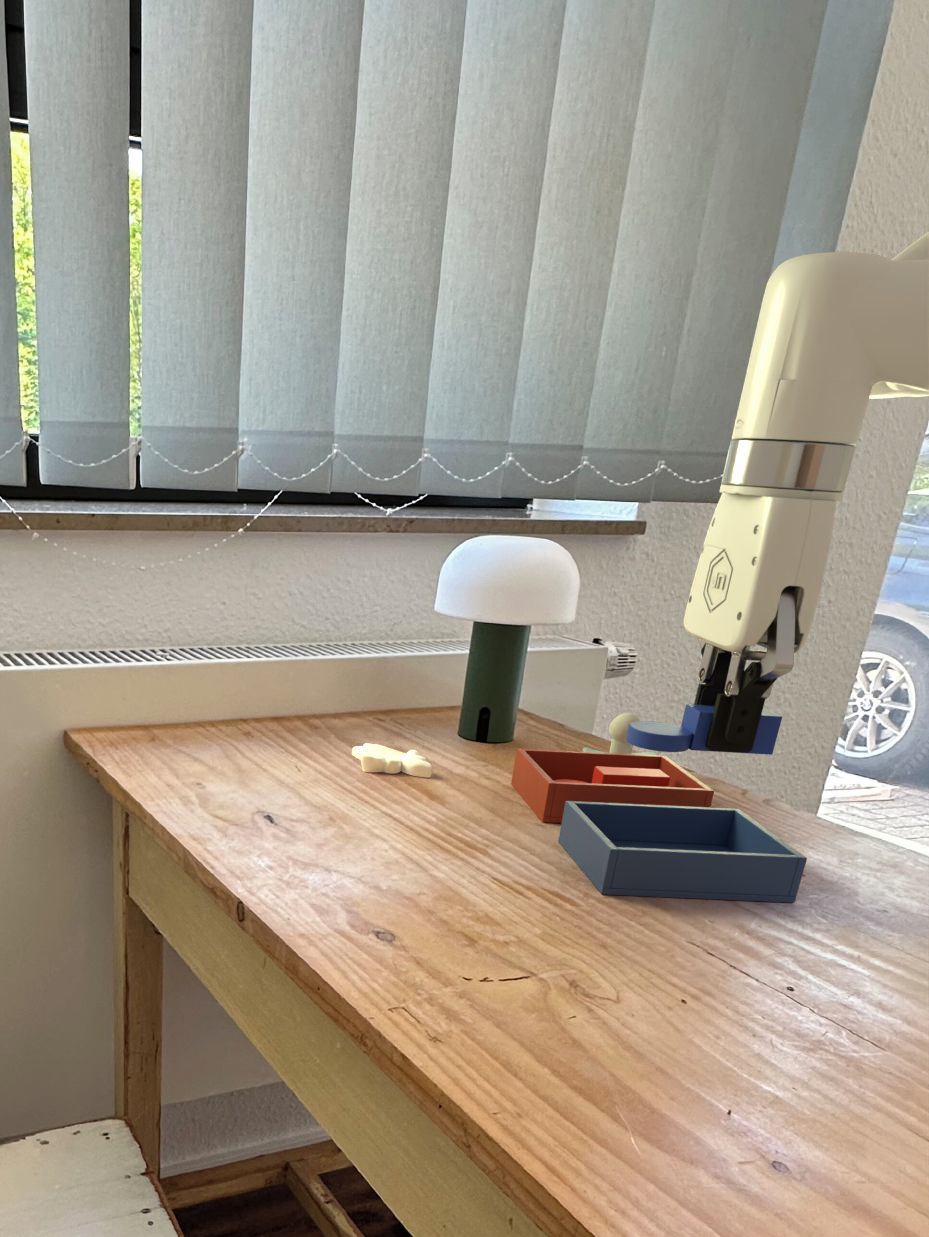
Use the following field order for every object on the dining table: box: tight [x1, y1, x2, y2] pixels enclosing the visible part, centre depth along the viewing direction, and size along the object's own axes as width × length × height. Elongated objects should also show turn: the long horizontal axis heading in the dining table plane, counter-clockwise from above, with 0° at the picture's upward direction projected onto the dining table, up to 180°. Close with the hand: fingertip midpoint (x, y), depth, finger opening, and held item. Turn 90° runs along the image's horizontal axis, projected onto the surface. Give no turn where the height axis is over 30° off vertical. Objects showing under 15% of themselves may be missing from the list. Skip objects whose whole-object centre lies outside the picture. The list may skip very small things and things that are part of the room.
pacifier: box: [582, 712, 660, 756], centre depth 107 cm, size 7×6×6 cm
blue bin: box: [557, 801, 808, 904], centre depth 82 cm, size 14×11×4 cm
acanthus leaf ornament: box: [351, 742, 434, 779], centre depth 105 cm, size 8×7×2 cm
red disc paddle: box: [553, 766, 670, 787], centre depth 96 cm, size 10×4×3 cm, turn 90°
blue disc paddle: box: [626, 703, 783, 756], centre depth 78 cm, size 10×4×3 cm, turn 90°
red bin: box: [510, 748, 715, 824], centre depth 96 cm, size 14×11×4 cm
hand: (718, 742), depth 78 cm, fingers closed on blue disc paddle, 2 cm apart
